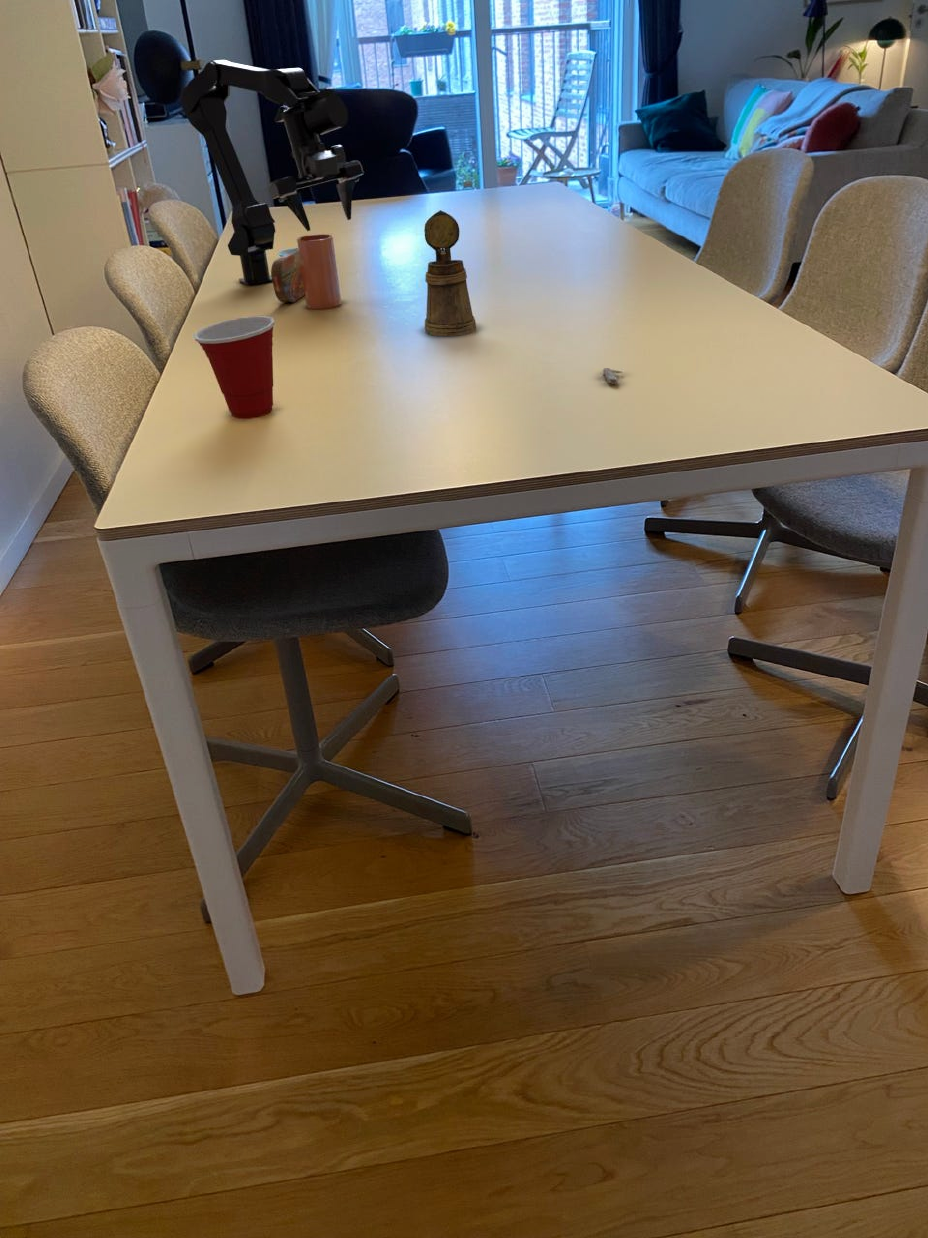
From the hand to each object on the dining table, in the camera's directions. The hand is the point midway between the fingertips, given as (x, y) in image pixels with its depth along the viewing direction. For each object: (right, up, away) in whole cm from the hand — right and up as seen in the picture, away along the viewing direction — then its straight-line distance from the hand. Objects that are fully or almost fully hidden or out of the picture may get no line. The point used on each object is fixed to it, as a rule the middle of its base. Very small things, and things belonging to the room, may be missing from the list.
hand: (329, 225), depth 184 cm
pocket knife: (+49, -46, -55) cm, 87 cm away
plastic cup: (-2, -51, -58) cm, 77 cm away
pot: (0, -18, -5) cm, 19 cm away
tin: (-7, -14, +2) cm, 16 cm away
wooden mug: (+25, -29, -25) cm, 45 cm away
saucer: (-11, +7, +36) cm, 38 cm away
